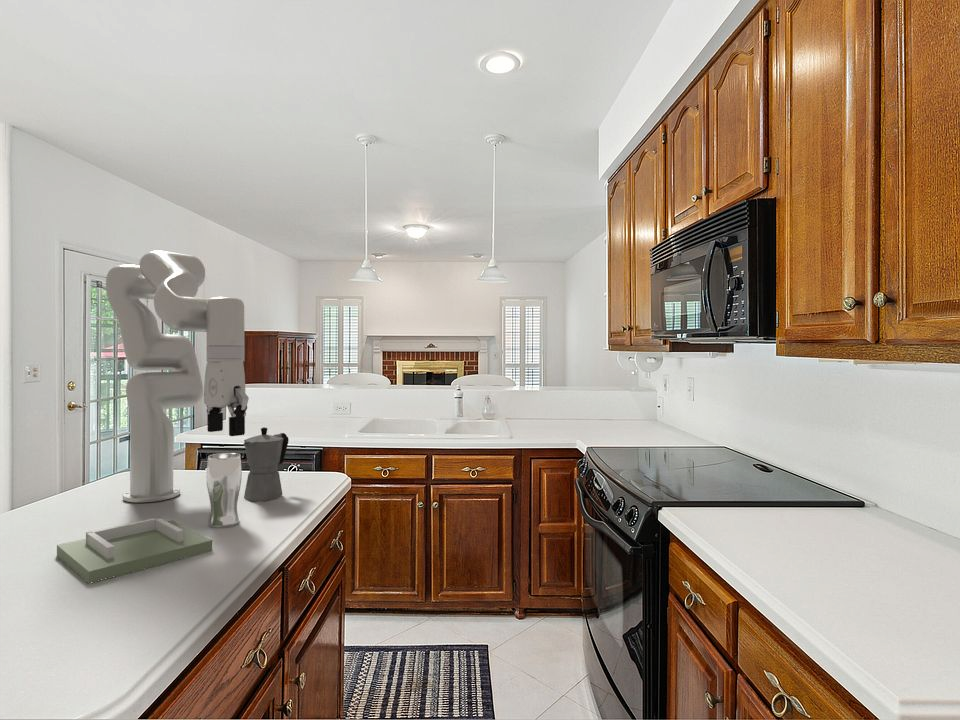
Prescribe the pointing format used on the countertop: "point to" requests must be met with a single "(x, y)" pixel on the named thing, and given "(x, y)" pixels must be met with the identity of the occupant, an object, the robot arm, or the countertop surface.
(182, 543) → the plate
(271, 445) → the coffeepot
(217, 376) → the robot arm
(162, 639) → the countertop surface
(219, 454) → the beer glass
